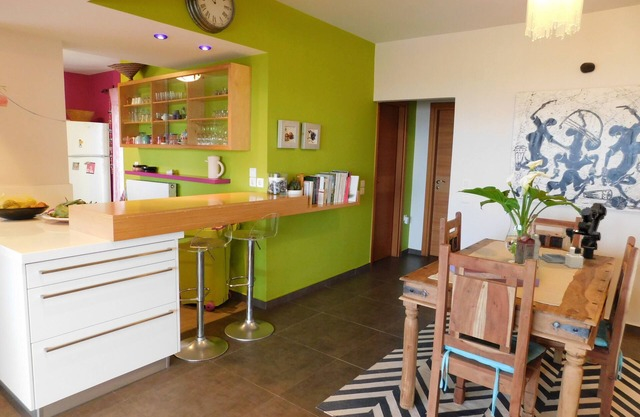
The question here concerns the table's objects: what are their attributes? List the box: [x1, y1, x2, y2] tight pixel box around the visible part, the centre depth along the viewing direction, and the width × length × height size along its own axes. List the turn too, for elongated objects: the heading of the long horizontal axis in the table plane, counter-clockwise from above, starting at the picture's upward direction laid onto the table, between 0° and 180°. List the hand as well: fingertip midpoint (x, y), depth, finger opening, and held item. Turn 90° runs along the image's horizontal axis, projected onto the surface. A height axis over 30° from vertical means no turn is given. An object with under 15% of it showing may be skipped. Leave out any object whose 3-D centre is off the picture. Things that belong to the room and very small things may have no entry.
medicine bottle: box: [564, 246, 585, 269], centre depth 259 cm, size 7×7×12 cm
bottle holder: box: [539, 253, 566, 265], centre depth 272 cm, size 14×16×3 cm
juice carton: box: [514, 232, 535, 264], centre depth 244 cm, size 7×7×22 cm
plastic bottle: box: [531, 233, 542, 266], centre depth 254 cm, size 6×7×20 cm
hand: (579, 244), depth 263 cm, fingers open, 9 cm apart
